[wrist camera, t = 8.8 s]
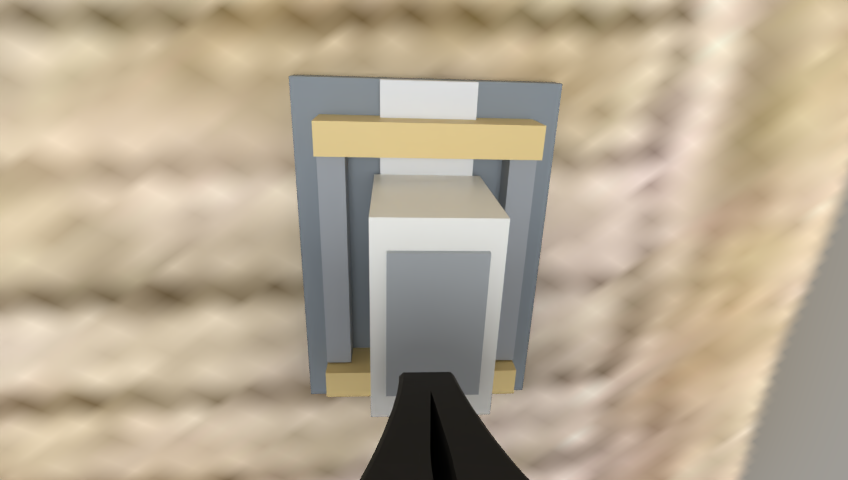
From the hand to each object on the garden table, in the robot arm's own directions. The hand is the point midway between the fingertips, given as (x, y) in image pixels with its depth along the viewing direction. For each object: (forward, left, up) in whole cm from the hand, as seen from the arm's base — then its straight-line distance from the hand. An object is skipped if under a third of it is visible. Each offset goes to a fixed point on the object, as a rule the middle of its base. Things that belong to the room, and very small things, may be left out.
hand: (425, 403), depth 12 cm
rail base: (+1, 0, -9) cm, 9 cm away
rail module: (+1, 0, -8) cm, 8 cm away
